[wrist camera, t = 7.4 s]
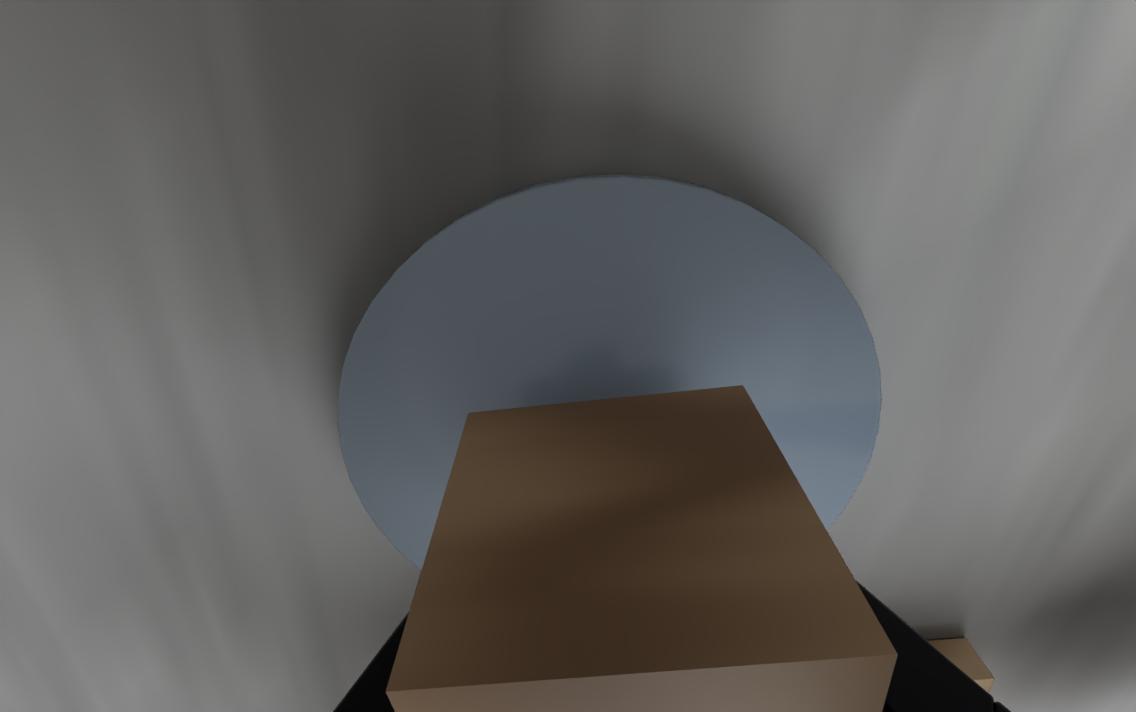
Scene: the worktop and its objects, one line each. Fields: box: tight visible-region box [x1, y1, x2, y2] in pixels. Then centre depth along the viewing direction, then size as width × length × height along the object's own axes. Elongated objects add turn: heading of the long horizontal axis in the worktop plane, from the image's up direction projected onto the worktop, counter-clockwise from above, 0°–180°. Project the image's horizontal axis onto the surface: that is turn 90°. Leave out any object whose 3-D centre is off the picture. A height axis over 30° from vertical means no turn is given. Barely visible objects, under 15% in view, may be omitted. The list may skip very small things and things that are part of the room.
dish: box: [338, 174, 882, 570], centre depth 12 cm, size 11×11×1 cm
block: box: [386, 385, 898, 712], centre depth 8 cm, size 4×4×4 cm
